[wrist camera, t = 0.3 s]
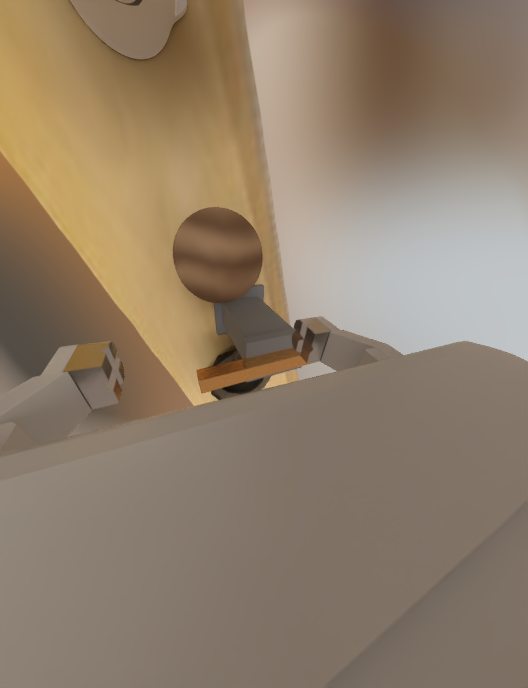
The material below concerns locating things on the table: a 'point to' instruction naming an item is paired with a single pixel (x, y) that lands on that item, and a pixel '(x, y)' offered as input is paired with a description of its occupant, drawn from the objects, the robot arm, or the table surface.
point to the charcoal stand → (253, 326)
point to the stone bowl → (240, 387)
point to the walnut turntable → (217, 255)
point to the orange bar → (248, 369)
